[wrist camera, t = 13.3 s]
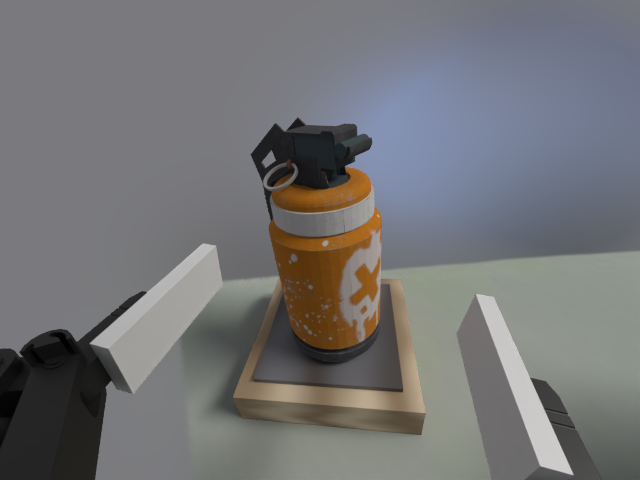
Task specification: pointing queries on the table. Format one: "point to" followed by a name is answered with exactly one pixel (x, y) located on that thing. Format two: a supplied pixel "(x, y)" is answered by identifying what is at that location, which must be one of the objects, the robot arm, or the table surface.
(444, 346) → the table surface
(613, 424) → the table surface
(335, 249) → the canister
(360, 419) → the plinth
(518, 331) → the table surface
